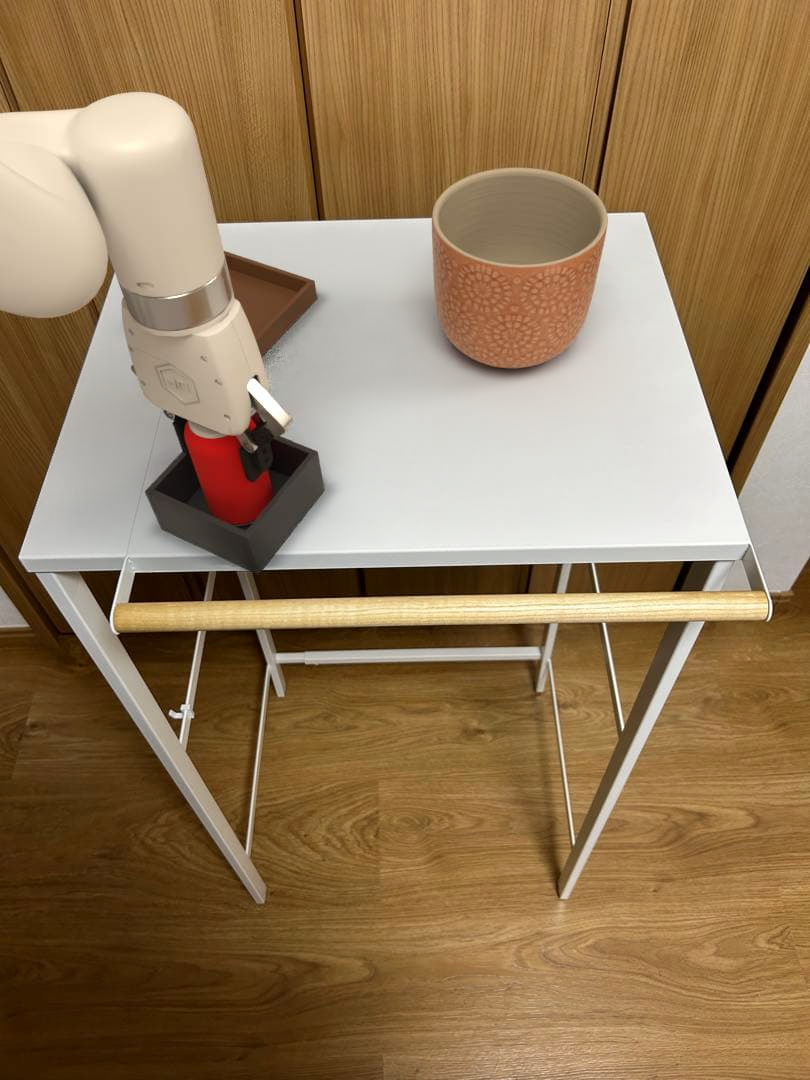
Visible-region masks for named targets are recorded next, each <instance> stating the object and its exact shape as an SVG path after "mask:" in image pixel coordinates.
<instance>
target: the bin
mask: <svg viewBox="0 0 810 1080" xmlns="http://www.w3.org/2000/svg"><path fill="white" fill-rule="evenodd" d="M270 447H271V451H272V455H273V461H272V464H271V466H270V467H269V469H268V472H269V477H270V481H271V485H272V489H273V499H272V500H271V501H270V502H269V504H268V505H267V506H266V507H265V508H264V510H263V511H262V512H261V513H260V515H259V516H258V517H257V518H256V519H255V521H254V522H253V523H251V524H248V525H244V526H233V525H231V524H229V523H227V522H224V521H222V520H220V519H218V518H216V517H214V516H213V515H212V513H211V512H210V510H209V507H208V504H207V502H206V499H205V496H204V493H203V490H202V487H201V484H200V482H199V479H198V476H197V473H196V470H195V467H194V464H193V462H192V459H191V456H190V455H187V454H185V453H183V451H182V450H181V452H180V453H179V454H178V455H177V456H176V457H175V458H174V459H173V460H172V461H171V463H170V464H169V465H168V466H167V467H166V468H165V469H164V470H163V471H162V472H161V474H160V475H158V477H157V478H156V479H155V480H154V481H153V482H152V483H151V484H150V485H149V486H148V487H147V488H146V490H144V494H145V496H146V497H147V500H148V502H149V505H150V506H151V507H150V508H151V509H152V511H153V514H154V516H155V518H156V521H157V523H158V525H159V527H160V529H161V530H162V531H164V532H167V533H169V534H171V535H172V536H175V537H176V538H179V539H181V540H183V541H185V542H187V543H190V544H192V545H194V546H196V547H198V548H200V549H202V550H204V551H207V552H208V553H211V554H212V555H215V556H217V557H219V558H221V559H224V560H226V561H228V562H230V563H232V564H234V565H236V566H238V567H240V568H243V569H245V570H247V571H249V572H251V573H253V574H255V575H257V576H260V574H261V573H262V572H263V570H264V569H265V567H267V565H268V564H269V562H271V560H272V559H273V557H274V556H275V555H276V553H277V552H278V551H279V550H280V548H281V547H282V546H283V545H284V544H285V542H286V540H288V538H289V537H290V536H291V534H292V533H293V532H294V530H295V529H296V528H297V527H298V525H299V524H300V523H301V521H302V520H303V519H304V518H305V516H306V515H307V514H308V513H309V511H310V510H311V509H312V507H313V506H314V505H315V504H316V502H317V501H318V500H319V498H320V497H321V496H322V495H323V493H324V492H325V485H324V479H323V478H324V477H323V473H322V467H321V466H322V465H321V461H320V455H319V451H318V450H316V449H312V448H311V447H308V446H306V445H303V444H301V443H298V442H295V441H293V440H290V439H288V438H285V437H283V436H282V435H280V436H278V437H276V438H273V439H272V440H271V441H270Z"/></svg>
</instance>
